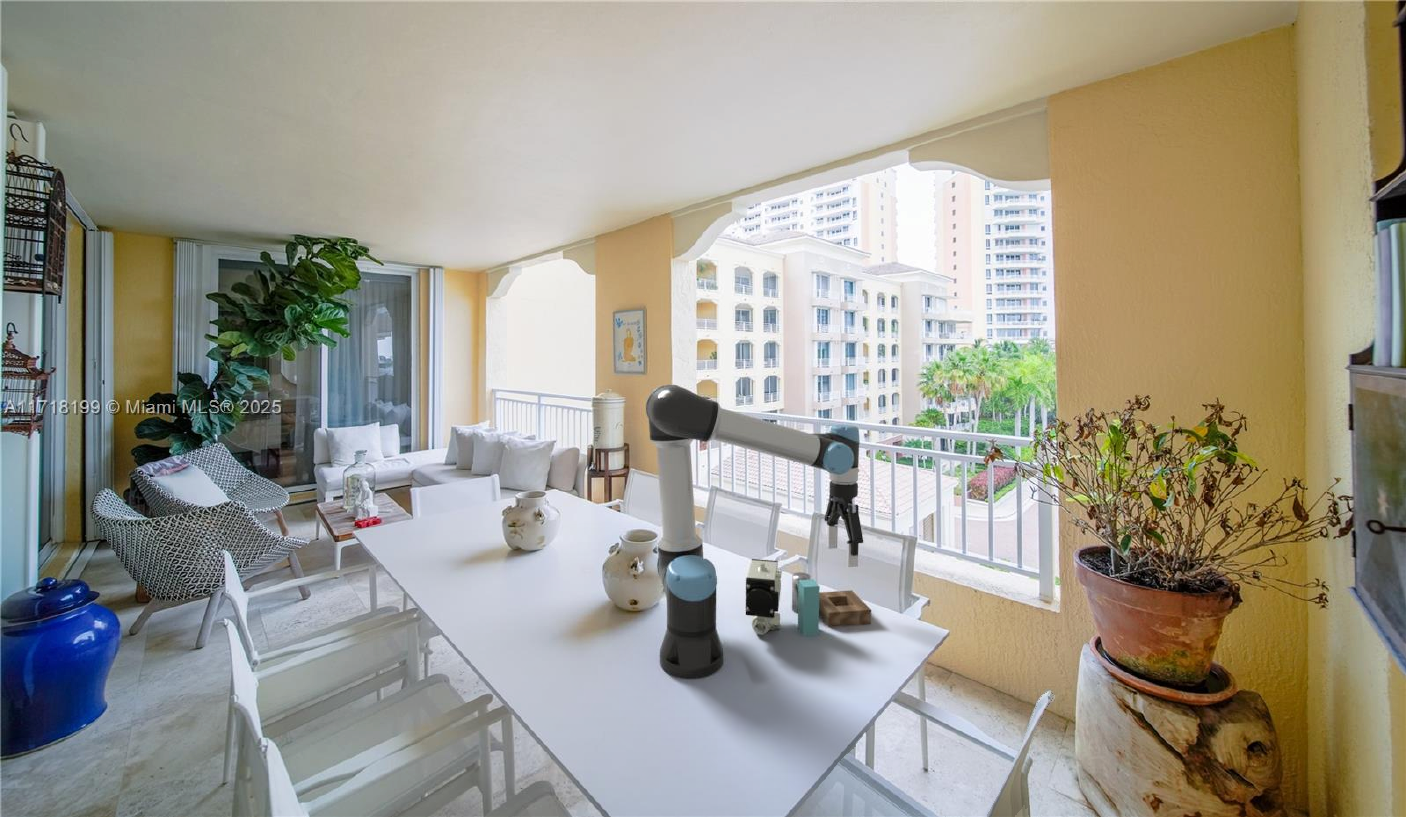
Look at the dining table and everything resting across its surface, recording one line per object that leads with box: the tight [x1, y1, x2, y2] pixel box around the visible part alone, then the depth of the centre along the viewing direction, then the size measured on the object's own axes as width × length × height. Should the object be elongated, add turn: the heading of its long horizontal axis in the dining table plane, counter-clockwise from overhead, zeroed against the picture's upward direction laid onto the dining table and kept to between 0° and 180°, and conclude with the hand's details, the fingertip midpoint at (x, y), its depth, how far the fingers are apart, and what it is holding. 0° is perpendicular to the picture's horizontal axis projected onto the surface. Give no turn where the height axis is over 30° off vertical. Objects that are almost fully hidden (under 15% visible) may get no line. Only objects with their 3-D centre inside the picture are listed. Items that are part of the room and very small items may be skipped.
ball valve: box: [745, 558, 783, 636], centre depth 136 cm, size 18×8×18 cm, turn 168°
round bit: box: [791, 571, 811, 614], centre depth 147 cm, size 5×5×10 cm
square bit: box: [797, 578, 820, 636], centre depth 135 cm, size 4×4×13 cm
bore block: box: [819, 589, 872, 628], centre depth 144 cm, size 12×12×4 cm
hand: (841, 556), depth 143 cm, fingers open, 13 cm apart
